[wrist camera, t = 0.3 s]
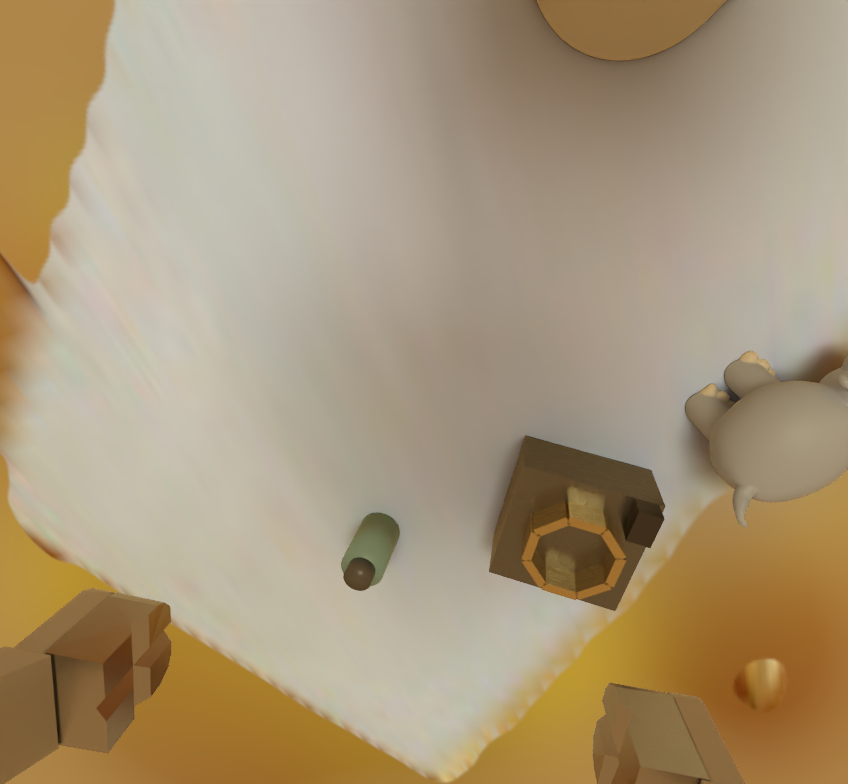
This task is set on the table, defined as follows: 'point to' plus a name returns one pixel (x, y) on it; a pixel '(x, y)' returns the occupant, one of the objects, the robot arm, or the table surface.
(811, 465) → the hippopotamus toy
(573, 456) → the octagon ring base
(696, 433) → the table surface
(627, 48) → the robot arm
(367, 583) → the bottle
